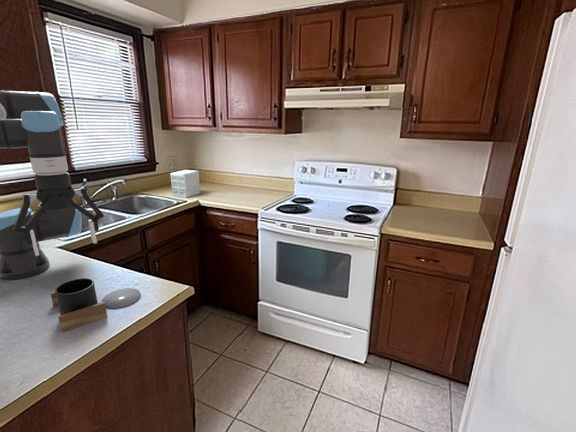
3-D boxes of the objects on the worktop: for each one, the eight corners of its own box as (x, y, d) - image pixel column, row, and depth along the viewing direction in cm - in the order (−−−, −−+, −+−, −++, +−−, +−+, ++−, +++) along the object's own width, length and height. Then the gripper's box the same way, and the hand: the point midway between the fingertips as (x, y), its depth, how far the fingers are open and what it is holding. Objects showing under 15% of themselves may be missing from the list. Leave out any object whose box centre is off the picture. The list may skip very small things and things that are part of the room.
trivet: (98, 297, 102) (98, 296, 102) (134, 286, 109) (134, 284, 109) (107, 312, 94) (107, 310, 94) (145, 299, 101) (145, 297, 101)
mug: (92, 297, 102) (87, 272, 99) (102, 313, 94) (97, 286, 91) (57, 308, 96) (50, 282, 93) (64, 326, 87) (58, 298, 85)
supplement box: (186, 192, 252) (185, 169, 247) (200, 193, 247) (199, 170, 242) (171, 196, 236) (169, 172, 231) (186, 198, 232) (184, 173, 226)
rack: (53, 305, 97) (50, 292, 96) (93, 293, 104) (91, 281, 103) (62, 332, 85) (58, 318, 84) (107, 316, 92) (104, 302, 91)
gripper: (-13, 180, 72) (10, 264, 78) (108, 170, 88) (119, 240, 94) (-13, 175, 77) (8, 255, 83) (101, 167, 93) (112, 234, 100)
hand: (67, 247), depth 89 cm, fingers open, 13 cm apart
